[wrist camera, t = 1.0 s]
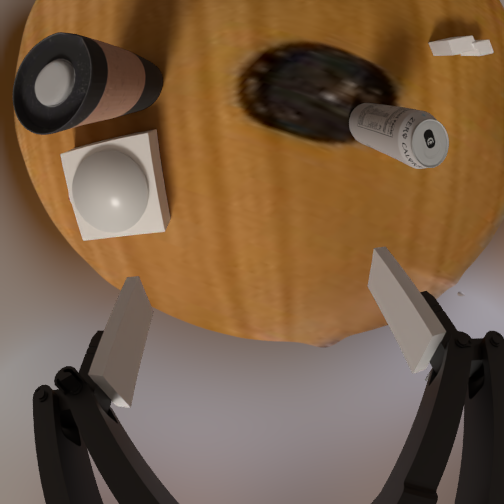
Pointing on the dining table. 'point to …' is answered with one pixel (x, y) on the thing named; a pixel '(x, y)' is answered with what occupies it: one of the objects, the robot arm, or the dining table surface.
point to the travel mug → (81, 83)
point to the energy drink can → (401, 133)
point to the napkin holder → (461, 46)
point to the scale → (117, 186)
